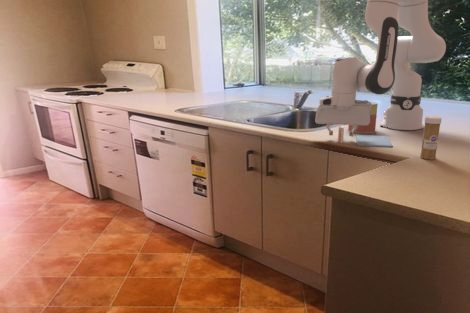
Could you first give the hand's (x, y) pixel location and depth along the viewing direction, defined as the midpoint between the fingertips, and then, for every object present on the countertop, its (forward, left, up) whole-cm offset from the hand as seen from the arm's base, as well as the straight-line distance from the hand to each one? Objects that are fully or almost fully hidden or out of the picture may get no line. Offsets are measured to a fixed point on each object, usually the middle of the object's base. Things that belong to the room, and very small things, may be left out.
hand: (340, 135), depth 144 cm
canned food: (-20, +9, -2) cm, 22 cm away
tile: (0, 0, -2) cm, 2 cm away
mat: (0, +12, -2) cm, 12 cm away
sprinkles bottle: (+20, +27, -2) cm, 34 cm away
